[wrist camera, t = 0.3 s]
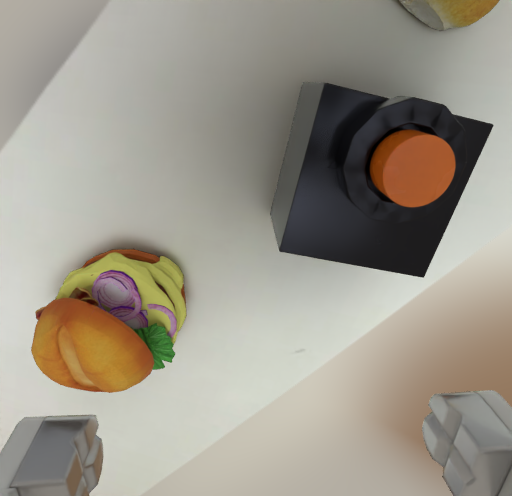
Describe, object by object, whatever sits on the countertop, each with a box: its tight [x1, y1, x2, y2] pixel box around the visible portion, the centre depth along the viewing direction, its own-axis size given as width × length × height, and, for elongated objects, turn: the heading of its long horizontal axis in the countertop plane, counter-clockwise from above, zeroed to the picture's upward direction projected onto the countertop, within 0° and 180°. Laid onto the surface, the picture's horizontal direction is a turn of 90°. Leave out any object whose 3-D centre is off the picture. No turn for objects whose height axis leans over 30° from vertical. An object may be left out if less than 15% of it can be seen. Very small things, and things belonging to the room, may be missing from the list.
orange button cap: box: [370, 129, 455, 207], centre depth 19 cm, size 4×4×2 cm
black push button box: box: [270, 82, 493, 277], centre depth 24 cm, size 10×10×9 cm
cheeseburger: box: [31, 249, 186, 393], centre depth 29 cm, size 10×11×10 cm
